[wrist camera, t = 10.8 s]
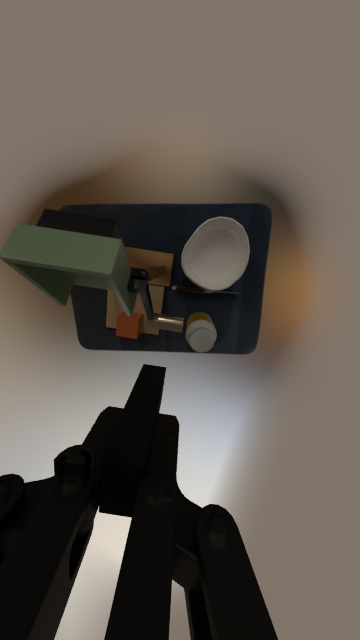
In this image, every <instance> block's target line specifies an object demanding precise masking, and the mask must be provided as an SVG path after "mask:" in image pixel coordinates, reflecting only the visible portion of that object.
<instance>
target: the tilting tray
mask: <svg viewBox="0 0 360 640" xmlns="http://www.w3.org/2000/svg"><path fill="white" fill-rule="evenodd" d="M0 259H2V260H3V261H4V262H6V263H7V264H8V265H9V266H11V267H12V268H13V269H15V270H16V271H17V272H18V273H20V274H21V275H22V276H23V277H25V278H26V279H27V280H29V281H30V282H31V283H33V284H34V285H35V286H36V287H38V288H39V289H40V290H41V291H43V292H44V293H45V294H47V295H48V296H49V297H50V298H52V299H53V300H54V301H56V302H57V303H58V304H59V305H62V306H65V305H66V303H67V300H68V297H69V295H70V292H71V289H72V287H73V284H74V285H80V286H87V287H93V288H100V289H106V290H112V291H114V293H115V295H116V297H117V299H118V300H119V302H120V304H121V306H122V307H123V309H124V311H125V313H126V315H127V316H132V315H133V311H134V307H135V303H136V298H137V294H138V293H140V296H141V299H142V303H143V306H144V309H145V313H146V316H147V327H149V328H155V329H162V330H168V331H175V332H182V329H183V322H184V317H179V316H173V315H166V314H160V313H154V311H153V306H152V301H151V296H150V291H149V284H148V281H146V280H148V278H149V272H148V271H147V270H145V269H141V268H134V267H130V264H129V261H128V258H127V255H126V250H125V247H124V243H123V240H122V237H121V234H120V230H119V227H118V224H117V221H116V220H114V219H108V218H102V217H95V216H89V215H82V214H76V213H70V212H63V211H57V210H50V209H44V211H43V213H42V215H41V217H40V219H39V221H38V223H37V225H36V226H32V225H26V224H19V223H17V224H16V226H15V228H14V230H13V231H12V233H11V235H10V237H9V238H8V240H7V242H6V244H5V245H4V247H3V249H2V251H1V253H0Z"/></svg>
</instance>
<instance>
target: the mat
mask: <svg viewBox="0 0 360 640" xmlns="http://www.w3.org/2000/svg"><path fill="white" fill-rule="evenodd" d="M149 291H150V296H151V301H152V306H153V311H154V313H160V314H161V311H162V303H163V295H164V287H163V286H157V285H150V284H149ZM123 311H124V309H123V307H122V306H121V304H120V302H119V300H118V299H117V297H116V295H115V293H114V291H112V290H108V299H107V320H106V327H110V328H116V329H117V316H118V315H119V314H120V313H122V312H123ZM133 312H135V313H141V314H143V324H142V333H148V334H154V335H158V334H159V329H155V328H149V327H147V316H146V313H145V309H144V306H143V303H142V299H141V296H140V293H138V294H137V298H136V303H135V307H134V311H133Z"/></svg>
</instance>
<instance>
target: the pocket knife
mask: <svg viewBox="0 0 360 640" xmlns="http://www.w3.org/2000/svg"><path fill="white" fill-rule="evenodd" d="M172 289H174V290H181V291H189V292H197V293H198V292H199V293H213V292H215V293H216V292H219V293H233V292H222V291H210V290H207V289H204V288H197V287H185V286H172ZM236 294H241V293H236Z"/></svg>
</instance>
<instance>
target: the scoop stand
mask: <svg viewBox="0 0 360 640" xmlns="http://www.w3.org/2000/svg"><path fill="white" fill-rule="evenodd" d="M125 250H126V255H127V258H128V261H129V264H130V267H134V268H141V269H145V270H147V271H148V272H149V278H148V280H146V281H148V284H154V285H161V286H167V287H169V286H170V281H171V273H172V266H173V258H174V254H168V253H162V252H155V251H149V250H143V249H136V248H130V247H125Z"/></svg>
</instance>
